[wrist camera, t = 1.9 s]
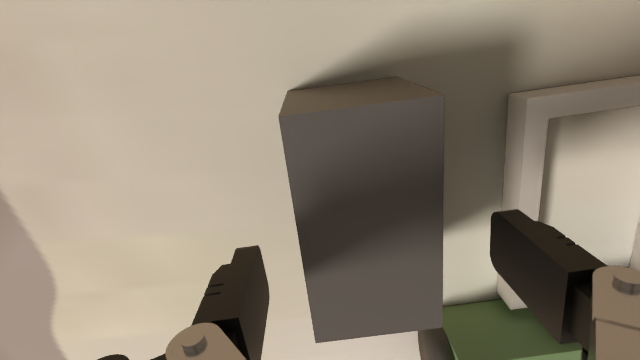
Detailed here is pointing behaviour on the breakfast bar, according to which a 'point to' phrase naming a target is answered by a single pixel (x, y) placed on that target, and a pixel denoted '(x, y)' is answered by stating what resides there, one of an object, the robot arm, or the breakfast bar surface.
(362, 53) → the breakfast bar surface
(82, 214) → the breakfast bar surface
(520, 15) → the breakfast bar surface
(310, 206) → the grey rectangular block
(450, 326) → the toy tractor
